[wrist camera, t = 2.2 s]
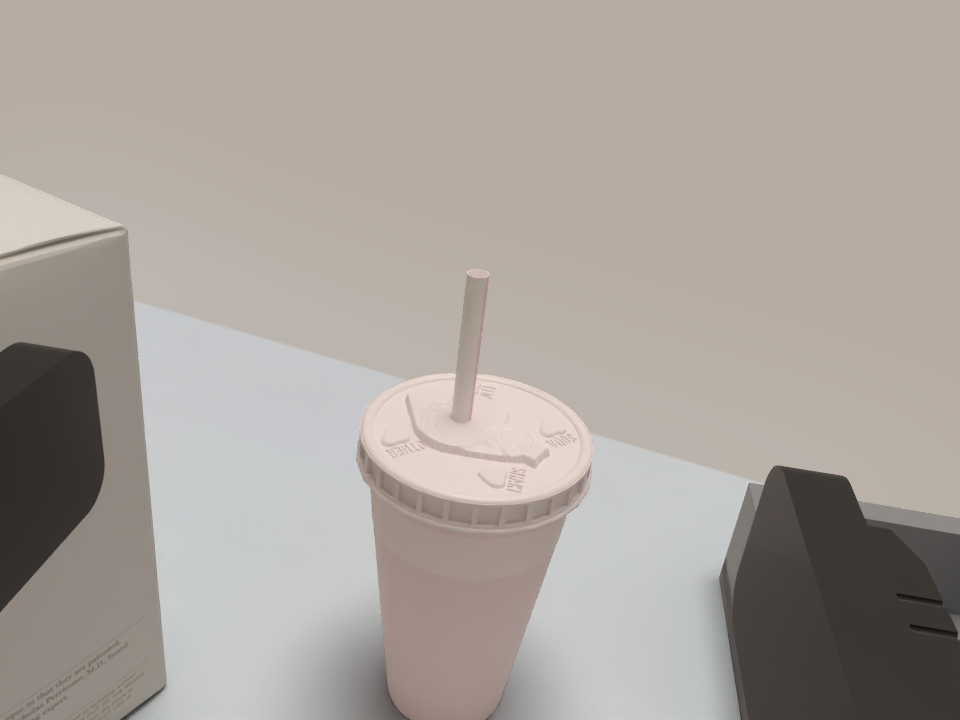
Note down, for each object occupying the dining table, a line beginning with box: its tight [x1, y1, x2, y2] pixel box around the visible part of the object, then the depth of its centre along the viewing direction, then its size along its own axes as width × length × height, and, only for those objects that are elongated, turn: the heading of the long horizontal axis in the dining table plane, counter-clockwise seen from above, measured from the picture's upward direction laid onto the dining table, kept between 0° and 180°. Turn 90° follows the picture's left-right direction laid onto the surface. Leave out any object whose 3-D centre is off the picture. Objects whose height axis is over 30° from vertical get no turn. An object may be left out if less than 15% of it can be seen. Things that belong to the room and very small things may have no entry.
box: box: [720, 483, 960, 720], centre depth 28 cm, size 10×10×4 cm
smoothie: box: [356, 269, 594, 720], centre depth 25 cm, size 6×6×14 cm
